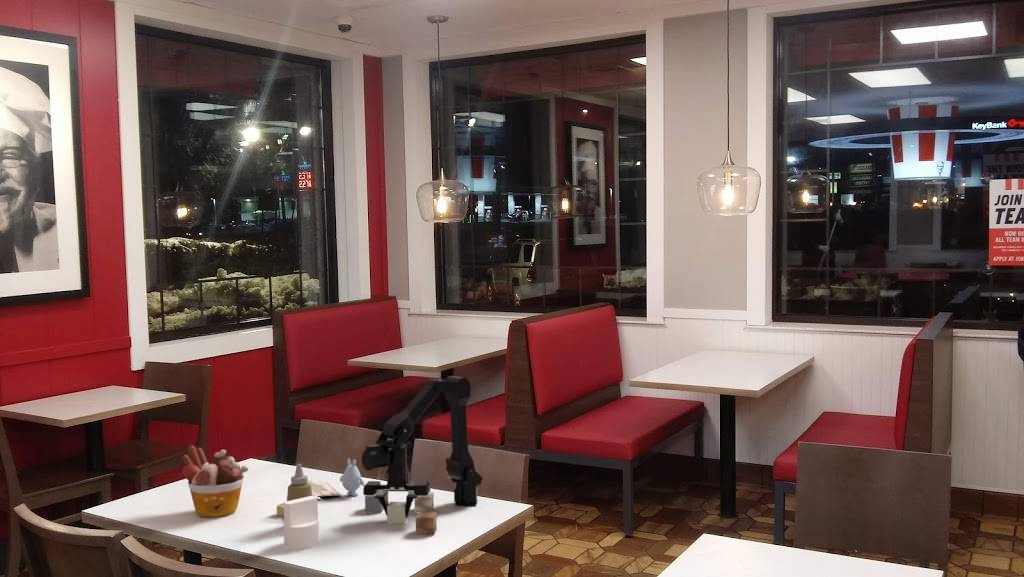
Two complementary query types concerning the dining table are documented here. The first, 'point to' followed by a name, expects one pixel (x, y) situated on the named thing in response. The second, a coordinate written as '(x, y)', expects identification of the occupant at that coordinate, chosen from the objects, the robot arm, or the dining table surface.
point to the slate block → (372, 504)
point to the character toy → (280, 509)
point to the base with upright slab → (301, 523)
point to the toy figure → (351, 478)
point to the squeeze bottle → (299, 485)
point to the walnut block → (426, 523)
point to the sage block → (396, 513)
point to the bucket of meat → (213, 482)
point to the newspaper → (322, 489)
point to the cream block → (424, 503)
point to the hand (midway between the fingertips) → (397, 517)
